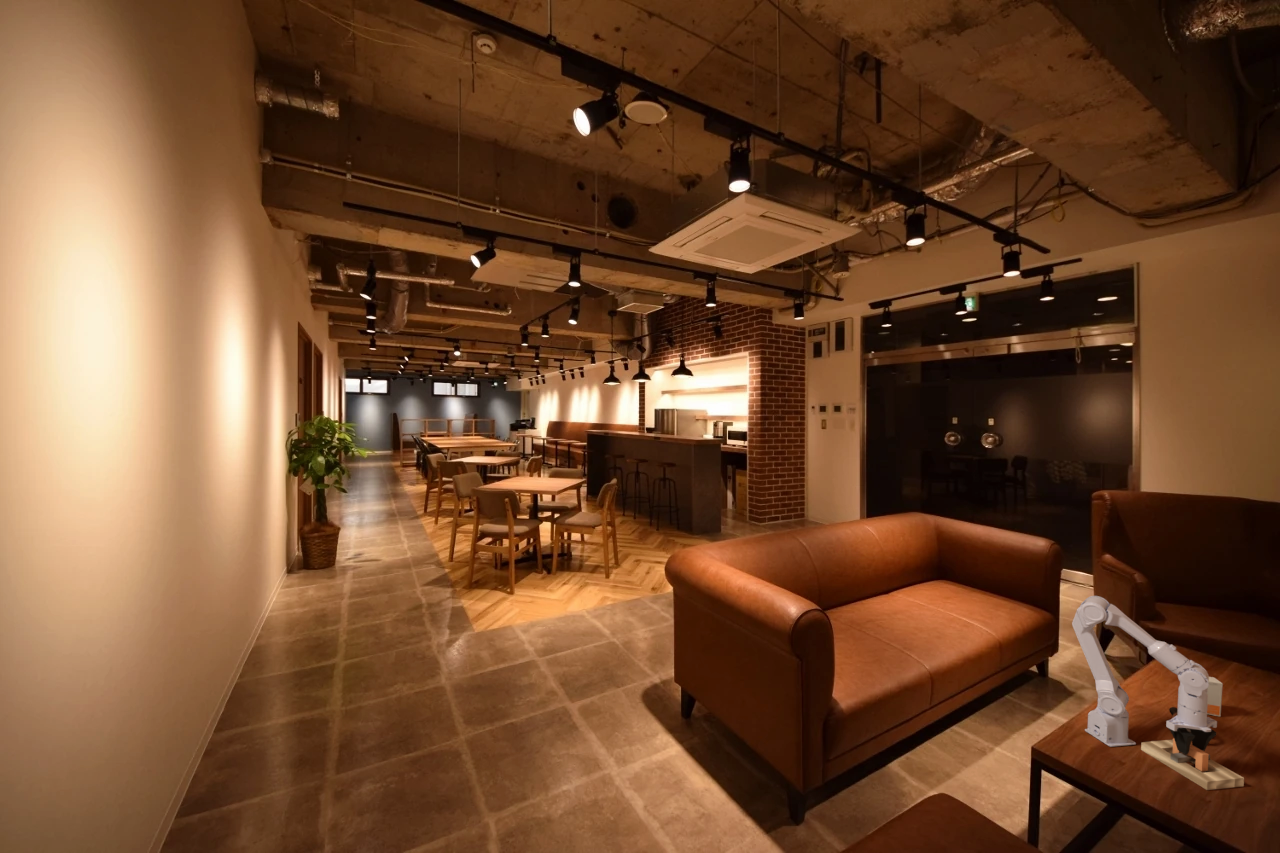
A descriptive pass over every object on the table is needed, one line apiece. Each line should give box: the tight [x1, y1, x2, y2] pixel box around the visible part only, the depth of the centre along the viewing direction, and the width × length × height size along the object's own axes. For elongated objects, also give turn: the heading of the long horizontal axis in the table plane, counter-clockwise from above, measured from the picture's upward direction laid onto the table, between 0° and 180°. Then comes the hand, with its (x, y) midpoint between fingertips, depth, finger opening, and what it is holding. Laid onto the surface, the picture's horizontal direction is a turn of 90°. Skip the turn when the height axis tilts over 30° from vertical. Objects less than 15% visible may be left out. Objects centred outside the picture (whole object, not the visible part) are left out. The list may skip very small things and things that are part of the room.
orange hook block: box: [1172, 737, 1209, 772], centre depth 143 cm, size 2×7×5 cm, turn 7°
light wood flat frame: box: [1140, 739, 1245, 791], centre depth 143 cm, size 12×16×4 cm
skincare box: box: [1207, 676, 1224, 718], centre depth 169 cm, size 6×4×12 cm
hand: (1190, 751), depth 143 cm, fingers open, 5 cm apart
